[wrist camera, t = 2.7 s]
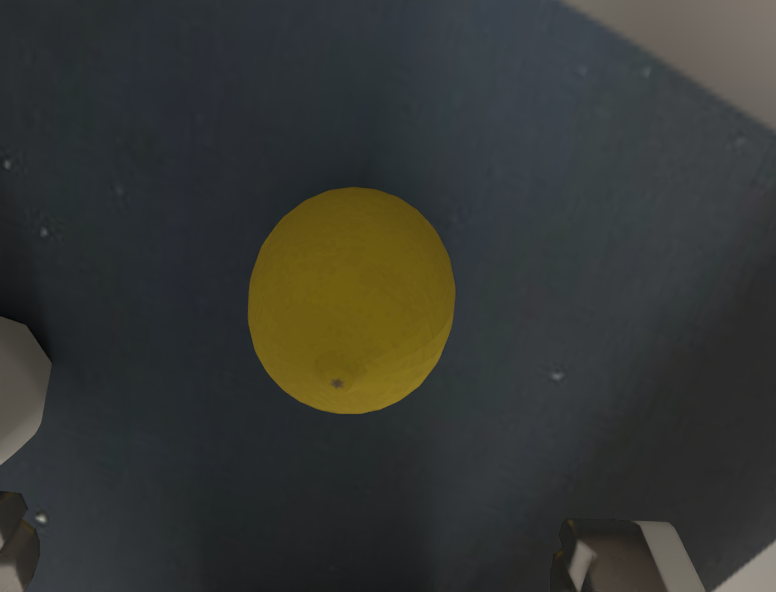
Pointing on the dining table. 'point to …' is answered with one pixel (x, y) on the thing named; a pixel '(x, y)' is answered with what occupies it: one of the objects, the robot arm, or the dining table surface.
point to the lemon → (351, 300)
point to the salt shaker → (20, 386)
